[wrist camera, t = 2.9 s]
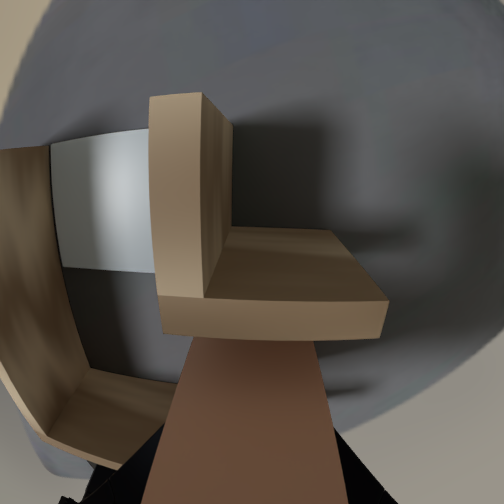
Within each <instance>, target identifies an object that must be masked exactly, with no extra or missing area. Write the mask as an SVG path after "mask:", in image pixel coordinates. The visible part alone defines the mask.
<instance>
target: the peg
mask: <svg viewBox="0 0 504 504" xmlns="http://www.w3.org/2000/svg"><path fill="white" fill-rule="evenodd" d="M141 504H348V499H347V493H346V488H345V483H344V477H343V472H342V467H341V462H340V457H339V452H338V447H337V442H336V437H335V433H334V428H333V423H332V419H331V414H330V410H329V405H328V401H327V397H326V392H325V388H324V384H323V379H322V375H321V371H320V367H319V363H318V359H317V354H316V350H315V346H314V342H313V341H273V340H242V339H222V338H207V337H194V338H193V341H192V343H191V346H190V349H189V352H188V355H187V358H186V361H185V364H184V367H183V370H182V373H181V376H180V379H179V382H178V385H177V388H176V391H175V394H174V397H173V400H172V403H171V406H170V410H169V413H168V416H167V419H166V422H165V425H164V428H163V432H162V435H161V438H160V441H159V444H158V448H157V451H156V454H155V457H154V461H153V464H152V467H151V471H150V474H149V477H148V481H147V484H146V488H145V491H144V495H143V498H142V502H141Z"/></svg>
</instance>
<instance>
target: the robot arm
mask: <svg viewBox="0 0 504 504" xmlns="http://www.w3.org/2000/svg"><path fill="white" fill-rule="evenodd" d="M164 425H165V423H164V424H163V425H162V426H161V427H160V428H159V429H158V430H157V431H156V432H155V433H154V434H153V435H152V436H151V437H150V438H149V439H148V440H147V441H146V442H145V443H144V444H143V445H142V446H141V447H140V448H139V449H138V450H137V451H136V452H135V453H134V454H133V455H132V456H131V457H130V458H129V459H128V460H127V461H126V462H125V463H124V464H123V465H122V466H121V467H120V468H119V469H118V470H115V469H111V468H108V467H105V466H102V465H99V464H96V463H94V462H91V461H88V460H87V461H88V462H89V464H90V465H91V466H92V467H93V469H94V471H93V473H92V475H91V478H90V480H89V483H88V485H87V488H86V490H85V494H84V496H83V499H82V501H81V502H80V503H77V502H75V501H74V500H73V499H71V498H70V497H69V499H68V498H66V497H64V496H61V499H60V501H59V503H58V504H141V502H142V498H143V495H144V491H145V488H146V484H147V481H148V477H149V474H150V471H151V467H152V464H153V461H154V457H155V454H156V451H157V448H158V444H159V441H160V438H161V435H162V432H163V428H164ZM333 428H334V427H333ZM334 433H335V437H336V442H337V447H338V452H339V457H340V462H341V467H342V472H343V477H344V483H345V488H346V493H347V499H348V504H398V503H397V502H396V501H395V500H394V499H393V498H392V497H391V496H390V494H389V493H388V492H387V491H386V490H385V491H384V488H383V486H382V485H381V484H380V483H379V482H378V481H377V480H376V478H375V477H374V476H373V475H372V474H371V472H370V471H369V470H368V469H367V468H366V466H365V465H364V464H363V463H362V462H361V460H360V459H359V458H358V457H357V455H356V454H355V453H354V452H353V451H352V450H351V448H350V447H349V446H348V445H347V443H346V442H345V441H344V440H343V439H342V437H341V436H340V435H339V433H338V432H337V431H336V430H335V428H334Z"/></svg>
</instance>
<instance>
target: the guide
mask: <svg viewBox="0 0 504 504" xmlns="http://www.w3.org/2000/svg"><path fill="white" fill-rule="evenodd" d="M232 149H233V125H232V124H231V123H230V122H229V121H228V120H227V118H226V117H225V116H224V115H223V114H222V113H221V112H220V111H219V110H218V109H217V108H216V107H215V106H214V105H213V104H212V102H211V101H210V100H209V99H208V98H207V97H206V96H205V95H204V94H203V93H202V92H199V93H184V94H173V95H163V96H154V97H150V104H149V129H140V130H131V131H123V132H115V133H108V134H102V135H96V136H90V137H84V138H79V139H74V140H68V141H64V142H59V143H54V144H51V174H52V191H53V203H54V212H55V221H56V229H57V236H58V242H59V248H60V254H61V259H62V265H63V267H73V268H86V269H100V270H114V271H130V272H146V273H155V277H156V286H157V294H158V302H159V309H160V316H161V322H162V329H163V334H172V335H182V336H194V337H207V338H222V339H242V340H273V341H322V340H353V339H372V338H380V334H381V331H382V327H383V324H384V320H385V317H386V313H387V309H388V305H389V300H388V298H387V297H386V296H385V295H384V293H383V292H382V291H381V289H380V288H379V287H378V286H377V285H376V283H375V282H374V281H373V280H372V278H371V277H370V276H369V275H368V273H367V272H366V271H365V270H364V269H363V267H362V266H361V265H360V264H359V263H358V261H357V260H356V259H355V258H354V257H353V256H352V254H351V253H350V252H349V251H348V250H347V248H346V247H345V246H344V245H343V244H342V243H341V242H340V240H339V239H338V238H337V237H336V236H335V235H334V234H333V232H332V231H331V230H317V229H294V228H267V227H234V226H232ZM0 378H1V380H2V381H3V383H4V385H5V387H6V388H7V390H8V392H9V394H10V395H11V397H12V398H13V400H14V402H15V403H16V405H17V406H18V408H19V409H20V411H21V412H22V414H23V415H24V417H25V418H26V420H27V421H28V423H29V424H30V425H31V427H32V428H33V429H34V431H35V432H36V433H37V435H38V436H39V437H40V439H41V440H42V441H44V442H46V443H48V444H50V445H52V446H55V447H57V448H59V449H61V450H63V451H66V452H68V453H70V454H73V455H75V456H78V457H80V458H83V459H86V460H88V461H91V462H94V463H96V464H99V465H102V466H105V467H108V468H111V469H115V470H118V469H119V468H120V467H121V466H122V465H123V464H124V463H125V462H126V461H127V460H128V459H129V458H130V457H131V456H132V455H133V454H134V453H135V452H136V451H137V450H138V449H139V448H140V447H141V446H142V445H143V444H144V443H145V442H146V441H147V440H148V439H149V438H150V437H151V436H152V435H153V434H154V433H155V432H156V431H157V430H158V429H159V428H160V427H161V426H162V425H163V424H164V423H165V422H166V419H167V416H168V413H169V410H170V406H171V403H172V400H173V397H174V394H175V391H176V388H177V385H178V384H174V383H167V382H160V381H153V380H147V379H141V378H135V377H130V376H125V375H120V374H115V373H110V372H106V371H101V370H97V369H93V368H90V366H89V363H88V360H87V358H86V355H85V352H84V349H83V346H82V343H81V340H80V337H79V334H78V331H77V328H76V324H75V321H74V318H73V314H72V311H71V307H70V303H69V299H68V295H67V291H66V287H65V283H64V278H63V274H62V269H61V264H60V259H59V253H58V248H57V242H56V235H55V228H54V220H53V212H52V202H51V190H50V173H49V146H35V147H23V148H12V149H3V150H0Z"/></svg>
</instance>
